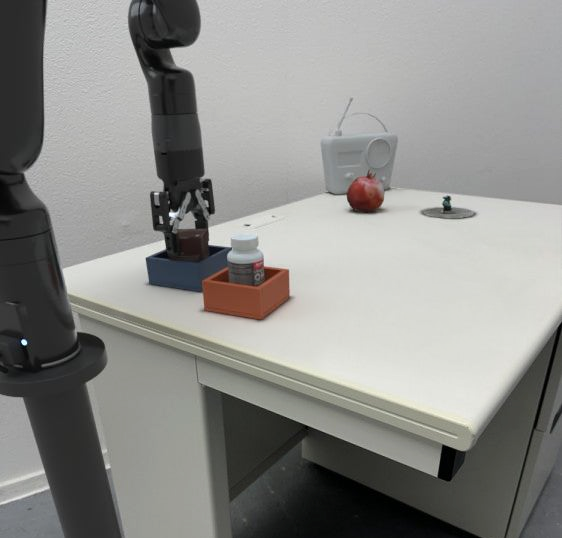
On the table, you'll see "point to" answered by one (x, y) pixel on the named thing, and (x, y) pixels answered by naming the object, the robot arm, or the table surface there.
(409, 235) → the table surface
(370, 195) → the fruit
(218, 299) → the terracotta bin
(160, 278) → the slate bin
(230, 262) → the pill bottle
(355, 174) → the radio
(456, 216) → the sculpture
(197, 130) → the robot arm
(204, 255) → the box
